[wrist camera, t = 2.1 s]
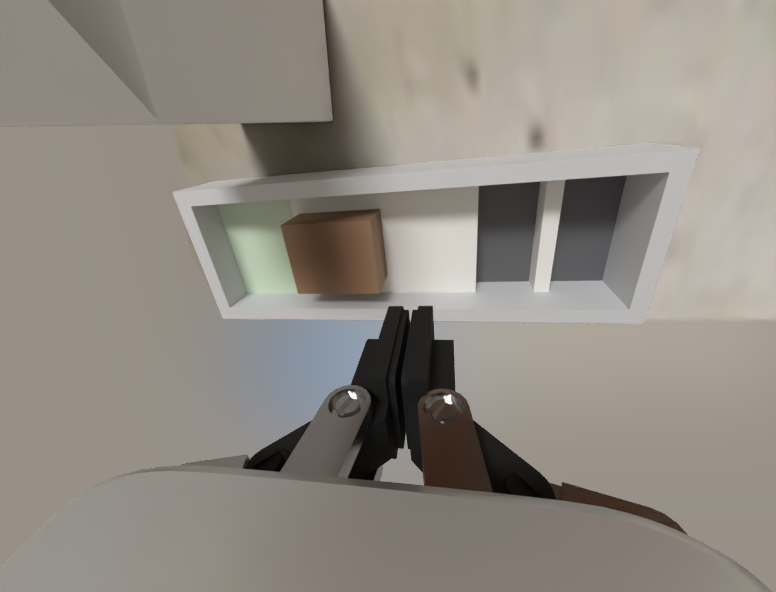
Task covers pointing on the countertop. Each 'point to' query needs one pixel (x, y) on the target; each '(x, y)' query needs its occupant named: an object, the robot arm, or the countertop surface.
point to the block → (336, 252)
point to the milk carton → (162, 62)
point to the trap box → (459, 235)
